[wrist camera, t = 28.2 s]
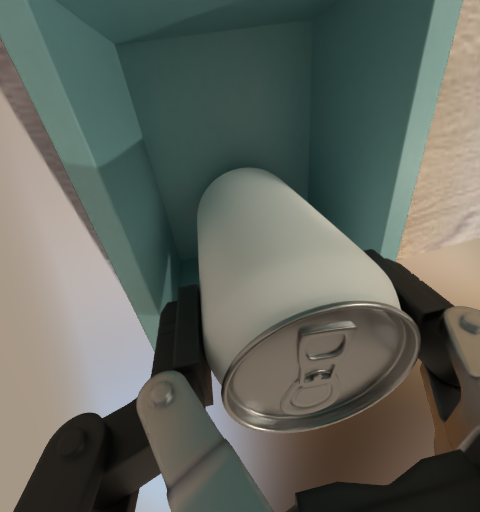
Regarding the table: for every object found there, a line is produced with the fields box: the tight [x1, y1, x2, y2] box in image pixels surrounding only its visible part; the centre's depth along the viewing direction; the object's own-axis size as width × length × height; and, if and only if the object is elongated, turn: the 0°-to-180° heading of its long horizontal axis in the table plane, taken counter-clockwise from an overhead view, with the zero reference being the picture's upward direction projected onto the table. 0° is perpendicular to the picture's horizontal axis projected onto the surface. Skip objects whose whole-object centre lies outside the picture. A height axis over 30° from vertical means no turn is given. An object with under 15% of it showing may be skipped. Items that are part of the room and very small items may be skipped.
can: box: [197, 167, 421, 433], centre depth 12 cm, size 6×6×12 cm
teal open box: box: [0, 0, 463, 351], centre depth 14 cm, size 16×13×10 cm
